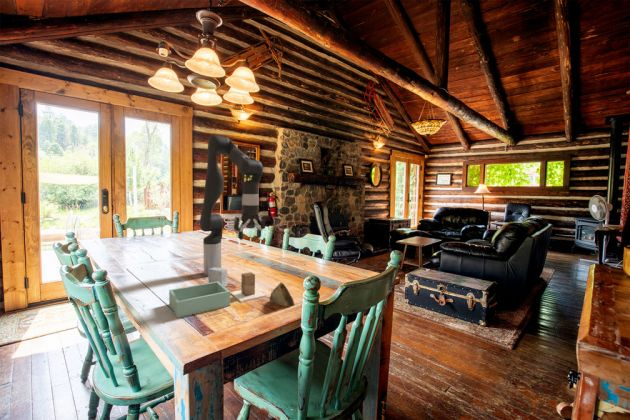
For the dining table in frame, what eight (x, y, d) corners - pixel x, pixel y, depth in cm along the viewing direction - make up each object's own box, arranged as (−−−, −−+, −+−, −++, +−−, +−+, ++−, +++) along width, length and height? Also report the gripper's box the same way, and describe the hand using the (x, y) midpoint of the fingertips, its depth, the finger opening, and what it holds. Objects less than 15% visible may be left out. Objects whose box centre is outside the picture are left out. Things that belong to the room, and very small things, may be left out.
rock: (262, 296, 122) (270, 301, 113) (273, 278, 125) (281, 282, 116) (281, 307, 126) (290, 313, 117) (292, 290, 129) (301, 295, 120)
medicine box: (227, 286, 140) (227, 268, 139) (221, 289, 135) (221, 271, 135) (214, 284, 142) (214, 267, 141) (208, 286, 138) (208, 269, 137)
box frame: (169, 304, 117) (169, 289, 117) (218, 294, 129) (218, 281, 128) (176, 318, 105) (176, 302, 105) (230, 305, 117) (230, 291, 116)
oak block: (241, 293, 129) (241, 273, 129) (250, 291, 132) (250, 272, 131) (245, 296, 126) (245, 276, 125) (254, 294, 128) (254, 274, 128)
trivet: (230, 293, 130) (230, 292, 130) (255, 288, 137) (255, 287, 137) (240, 302, 121) (240, 300, 121) (266, 296, 128) (266, 295, 128)
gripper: (261, 203, 138) (260, 236, 139) (232, 203, 129) (231, 238, 131) (268, 204, 132) (267, 239, 133) (238, 204, 123) (237, 241, 125)
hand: (249, 238), depth 132 cm, fingers open, 8 cm apart
